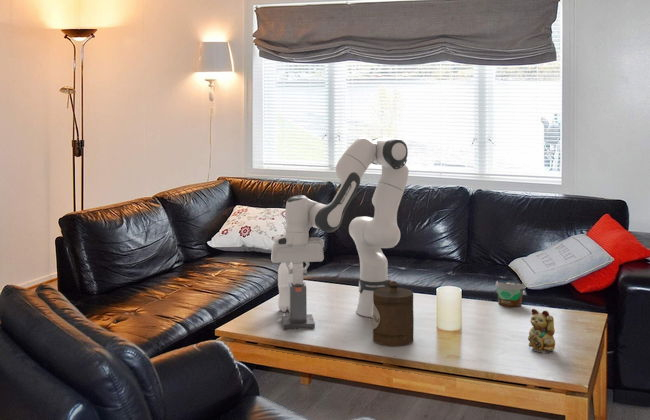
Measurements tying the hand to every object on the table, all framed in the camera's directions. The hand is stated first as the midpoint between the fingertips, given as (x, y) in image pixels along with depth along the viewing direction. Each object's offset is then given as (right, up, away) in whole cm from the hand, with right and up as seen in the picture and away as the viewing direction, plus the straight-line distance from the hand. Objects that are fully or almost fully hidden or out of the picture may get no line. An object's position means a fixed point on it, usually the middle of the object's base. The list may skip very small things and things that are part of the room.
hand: (297, 273), depth 305 cm
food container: (+88, -16, +27) cm, 93 cm away
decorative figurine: (+87, -25, -26) cm, 94 cm away
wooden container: (+35, -24, -15) cm, 45 cm away
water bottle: (-5, -17, +22) cm, 28 cm away
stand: (0, -20, +3) cm, 21 cm away
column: (0, -16, +3) cm, 16 cm away
